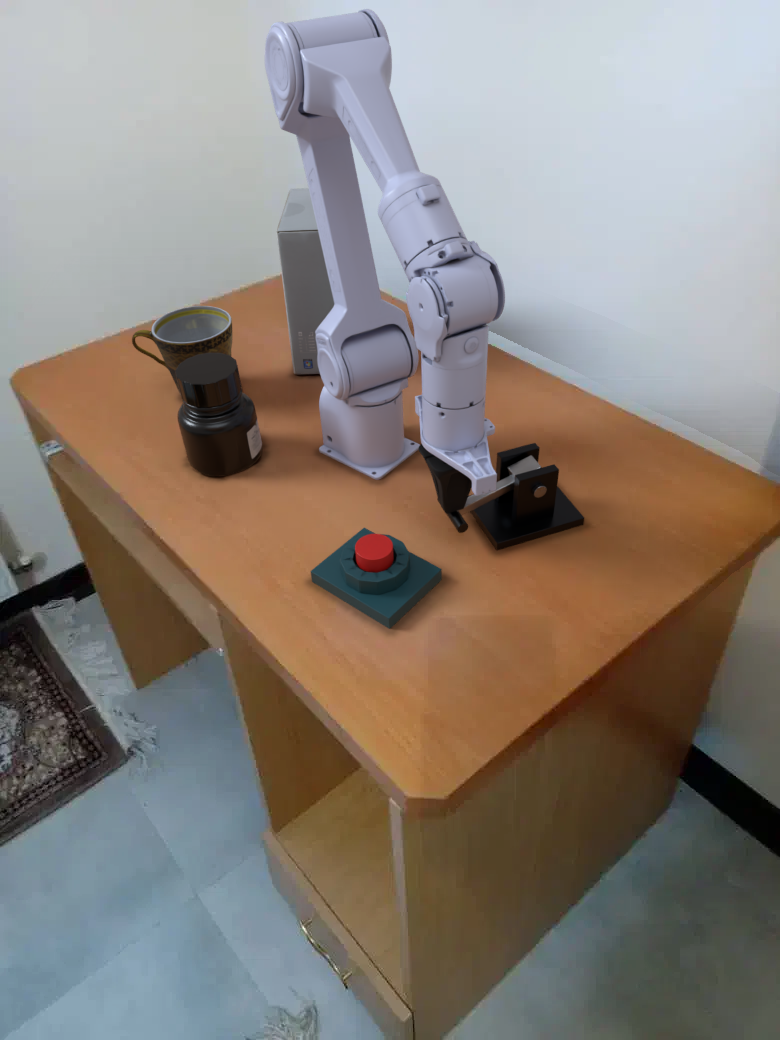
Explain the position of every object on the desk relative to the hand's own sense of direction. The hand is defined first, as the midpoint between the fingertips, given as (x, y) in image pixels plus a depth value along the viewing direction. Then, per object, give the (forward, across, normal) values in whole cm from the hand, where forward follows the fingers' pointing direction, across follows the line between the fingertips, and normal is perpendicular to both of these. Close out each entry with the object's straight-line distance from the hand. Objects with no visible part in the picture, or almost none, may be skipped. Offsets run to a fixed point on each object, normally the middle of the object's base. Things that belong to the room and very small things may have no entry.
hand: (452, 507), depth 80 cm
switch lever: (+1, 0, -5) cm, 5 cm away
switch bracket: (+4, 0, -8) cm, 9 cm away
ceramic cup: (+4, +39, +20) cm, 44 cm away
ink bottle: (+4, +24, +19) cm, 31 cm away
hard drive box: (+4, +43, +1) cm, 44 cm away
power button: (+1, -3, +9) cm, 10 cm away
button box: (+4, -3, +10) cm, 11 cm away
